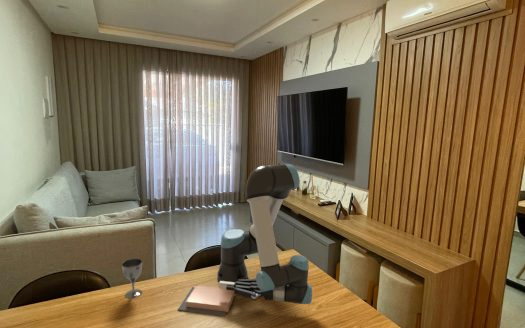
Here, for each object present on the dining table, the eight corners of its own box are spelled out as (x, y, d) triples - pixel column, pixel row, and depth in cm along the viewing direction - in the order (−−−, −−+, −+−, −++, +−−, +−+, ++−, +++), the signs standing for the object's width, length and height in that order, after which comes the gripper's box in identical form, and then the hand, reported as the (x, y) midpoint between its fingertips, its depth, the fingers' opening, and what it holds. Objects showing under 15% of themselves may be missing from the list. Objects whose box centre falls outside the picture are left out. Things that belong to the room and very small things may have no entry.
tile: (234, 294, 132) (196, 290, 134) (234, 289, 132) (196, 285, 134) (227, 312, 120) (186, 306, 123) (228, 306, 120) (186, 301, 122)
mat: (192, 288, 137) (192, 287, 137) (234, 292, 134) (234, 291, 134) (177, 310, 121) (177, 309, 121) (224, 316, 119) (224, 315, 118)
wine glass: (147, 290, 134) (145, 260, 131) (134, 301, 126) (132, 268, 124) (133, 287, 136) (131, 257, 134) (119, 296, 129) (117, 265, 126)
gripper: (272, 308, 117) (215, 302, 120) (275, 289, 129) (223, 284, 133) (273, 291, 115) (215, 285, 119) (276, 274, 128) (223, 268, 131)
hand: (219, 284), depth 126 cm, fingers closed
